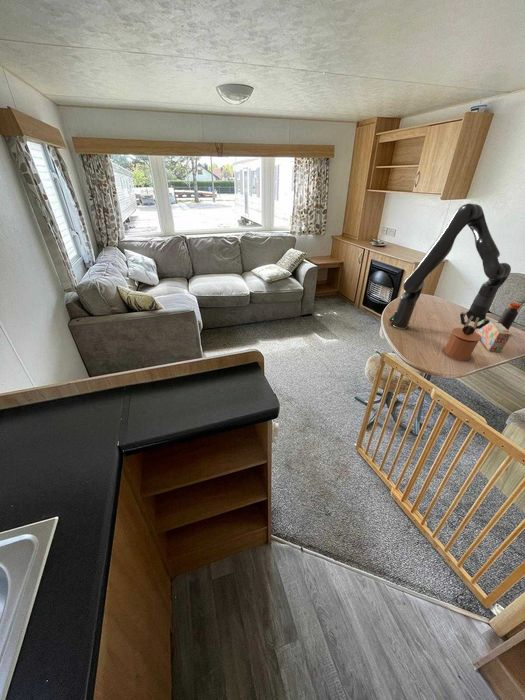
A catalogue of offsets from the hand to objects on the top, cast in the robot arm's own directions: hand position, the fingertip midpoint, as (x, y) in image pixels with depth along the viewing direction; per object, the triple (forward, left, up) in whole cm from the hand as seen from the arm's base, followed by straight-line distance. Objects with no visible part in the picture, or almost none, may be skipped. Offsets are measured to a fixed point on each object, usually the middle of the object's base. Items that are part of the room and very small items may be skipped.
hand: (467, 332), depth 154 cm
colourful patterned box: (+12, +28, -14) cm, 34 cm away
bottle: (+17, +47, -14) cm, 52 cm away
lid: (0, 0, -1) cm, 1 cm away
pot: (0, 0, -14) cm, 14 cm away
